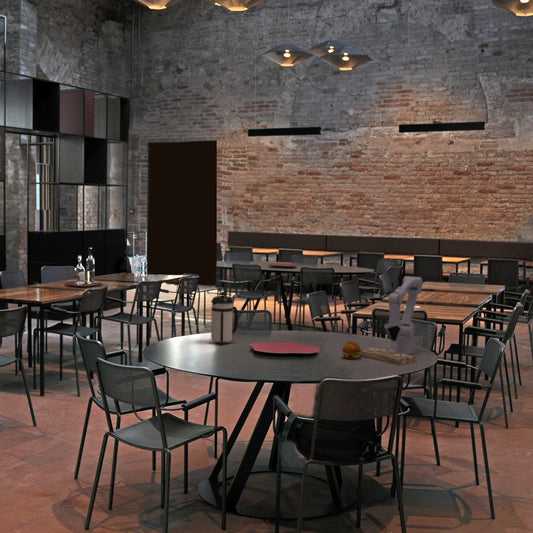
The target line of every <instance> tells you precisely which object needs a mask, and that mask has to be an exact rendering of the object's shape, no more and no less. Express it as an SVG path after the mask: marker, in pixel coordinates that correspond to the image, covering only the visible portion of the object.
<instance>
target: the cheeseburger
mask: <svg viewBox="0 0 533 533" xmlns="http://www.w3.org/2000/svg"><path fill="white" fill-rule="evenodd" d="M362 350H363V349H361V347H360V344H359V343H358V342H357V341H348V342H346V343H345V344H344V346H343V348H342V349H341V351H342V356H343V358H345V359H348V360H358V359H361V357H362V356H361V351H362Z"/></svg>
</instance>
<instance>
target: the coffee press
mask: <svg viewBox="0 0 533 533" xmlns="http://www.w3.org/2000/svg"><path fill="white" fill-rule="evenodd" d="M233 304H234V300H233V298H232V297H230V296H227V295H225V292H224V291H221V292H220V295H217V296H214V297H213V298H212V300H211V307H210V308H211V314H210V315H211V317H210V318H211V319H210V320H211V321H210V322H211V330H210V339H209V340H208V344H211V343H213V342H215V343H219V344H220V346H223V345H224V344H223V343H228V342H230V343H231V344H233V342H235V340H234V339H233V334H234V333H236V331H237V330H238V323H239V321H238V319H239V314H238V309H237V307H236V306H233ZM233 318H234V319H233ZM233 321H234V322H233ZM233 323H234V324H233Z"/></svg>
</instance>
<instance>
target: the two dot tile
mask: <svg viewBox="0 0 533 533" xmlns="http://www.w3.org/2000/svg"><path fill="white" fill-rule="evenodd" d="M395 352H396V349H390V348H381V350H379V353H381V354H386V355H391V354H395Z"/></svg>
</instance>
